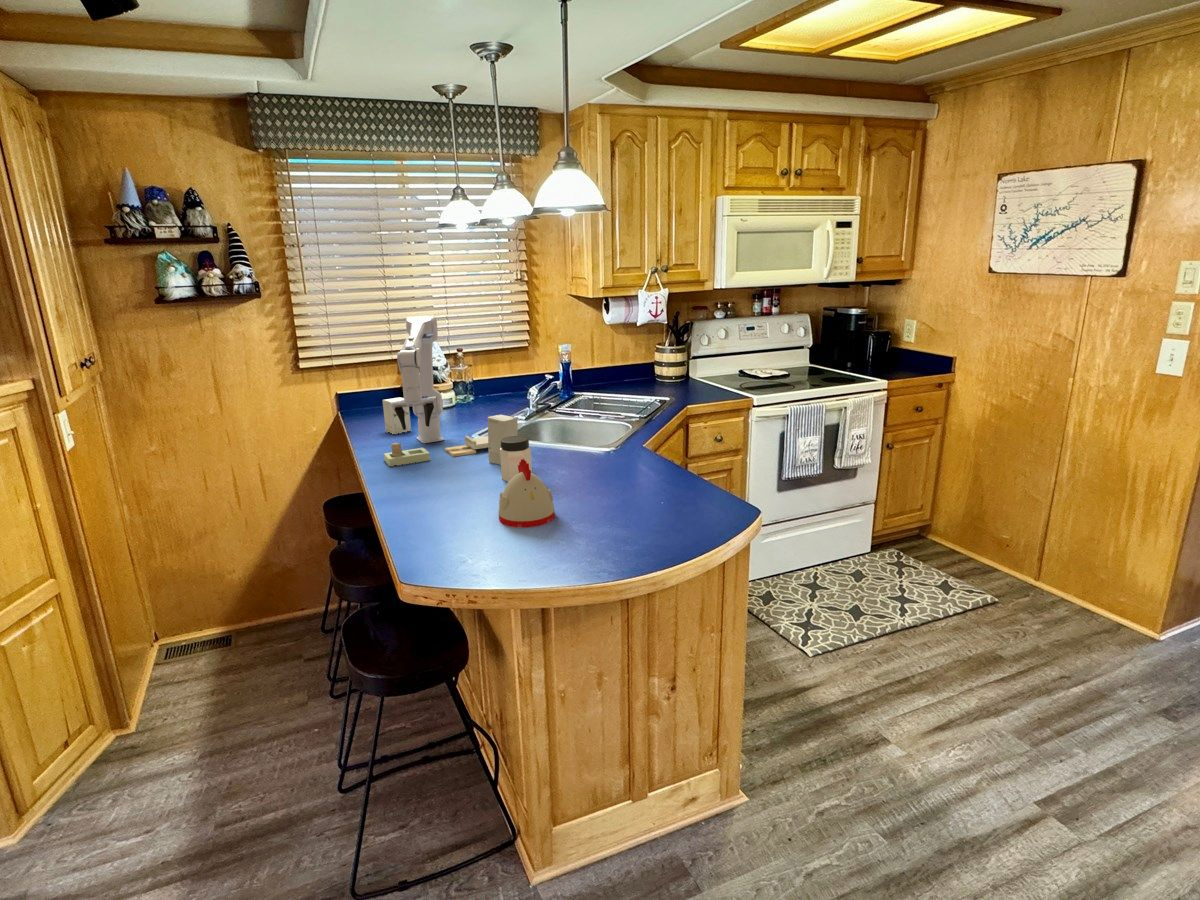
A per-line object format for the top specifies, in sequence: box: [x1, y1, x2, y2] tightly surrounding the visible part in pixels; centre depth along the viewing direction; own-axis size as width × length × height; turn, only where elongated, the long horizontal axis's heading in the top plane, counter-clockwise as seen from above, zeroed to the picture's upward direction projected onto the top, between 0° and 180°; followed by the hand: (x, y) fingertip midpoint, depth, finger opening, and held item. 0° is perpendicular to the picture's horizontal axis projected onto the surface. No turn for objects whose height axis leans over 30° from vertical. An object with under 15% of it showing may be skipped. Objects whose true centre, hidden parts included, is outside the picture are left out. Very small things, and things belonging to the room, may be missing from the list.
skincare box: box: [487, 414, 519, 466], centre depth 220 cm, size 8×6×15 cm
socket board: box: [383, 447, 431, 467], centre depth 227 cm, size 8×13×2 cm, turn 119°
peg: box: [390, 442, 403, 457], centre depth 225 cm, size 3×3×6 cm
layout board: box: [444, 444, 477, 458], centre depth 235 cm, size 9×8×1 cm
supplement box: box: [382, 396, 412, 435], centre depth 264 cm, size 7×7×13 cm
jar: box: [500, 435, 533, 483], centre depth 204 cm, size 9×8×12 cm
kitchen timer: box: [498, 459, 555, 529], centre depth 172 cm, size 14×14×15 cm
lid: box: [464, 435, 488, 450], centre depth 238 cm, size 9×8×3 cm
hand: (415, 427), depth 229 cm, fingers open, 7 cm apart
